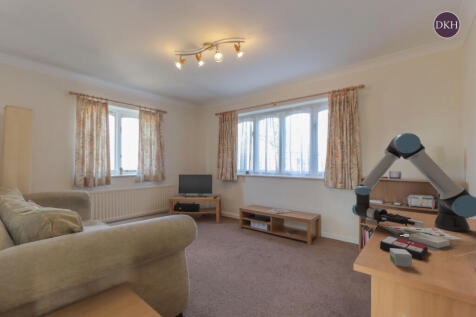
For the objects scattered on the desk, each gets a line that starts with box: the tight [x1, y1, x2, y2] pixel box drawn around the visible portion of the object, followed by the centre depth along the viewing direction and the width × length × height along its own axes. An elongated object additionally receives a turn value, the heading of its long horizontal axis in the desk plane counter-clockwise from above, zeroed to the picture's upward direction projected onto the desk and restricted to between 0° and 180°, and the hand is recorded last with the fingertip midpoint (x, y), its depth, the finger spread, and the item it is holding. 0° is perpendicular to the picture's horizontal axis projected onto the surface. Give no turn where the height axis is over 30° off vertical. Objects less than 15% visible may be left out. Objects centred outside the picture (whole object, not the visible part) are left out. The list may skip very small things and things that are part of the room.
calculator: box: [379, 235, 429, 261], centre depth 97 cm, size 11×4×15 cm
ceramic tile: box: [409, 232, 451, 248], centre depth 106 cm, size 9×3×12 cm
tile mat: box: [387, 232, 459, 252], centre depth 108 cm, size 18×20×1 cm
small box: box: [389, 248, 413, 268], centre depth 85 cm, size 6×6×5 cm
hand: (423, 225), depth 108 cm, fingers closed
